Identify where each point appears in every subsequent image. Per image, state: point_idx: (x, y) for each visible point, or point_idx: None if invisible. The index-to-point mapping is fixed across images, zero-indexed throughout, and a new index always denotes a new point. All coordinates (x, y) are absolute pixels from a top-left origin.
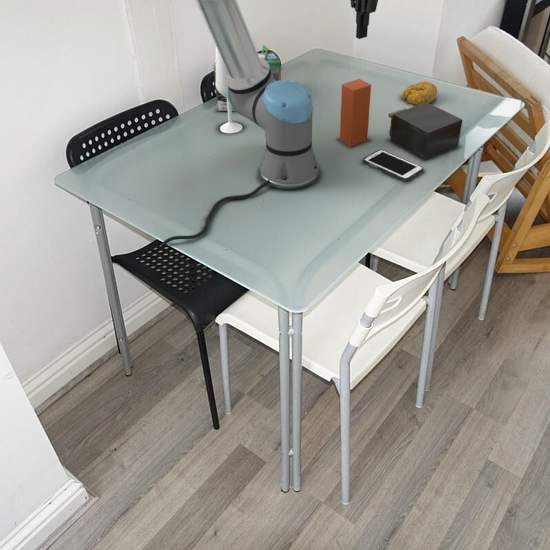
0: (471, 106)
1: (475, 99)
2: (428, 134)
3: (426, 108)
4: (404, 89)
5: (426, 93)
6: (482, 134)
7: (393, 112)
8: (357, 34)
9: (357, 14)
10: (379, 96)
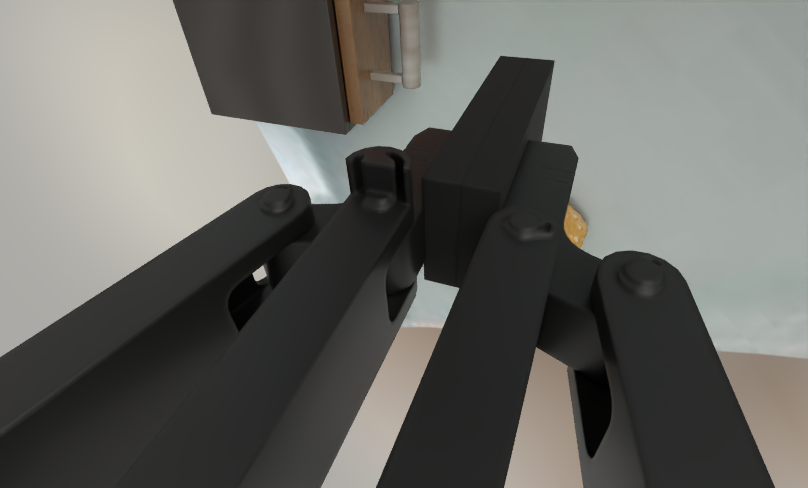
0: None
1: (432, 296)
2: None
3: (307, 95)
4: (576, 234)
5: None
6: (293, 170)
7: (404, 22)
8: (525, 71)
9: (498, 180)
10: (655, 173)
